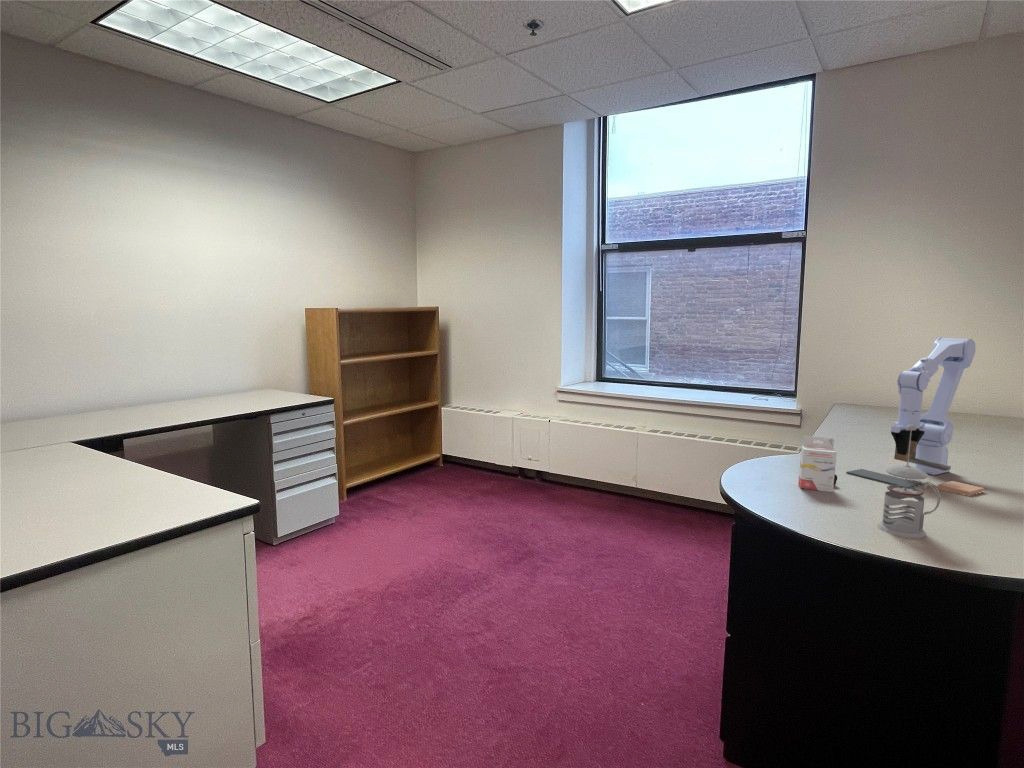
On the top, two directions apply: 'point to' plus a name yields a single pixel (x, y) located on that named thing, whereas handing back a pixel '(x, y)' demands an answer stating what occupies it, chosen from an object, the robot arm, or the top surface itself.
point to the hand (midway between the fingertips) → (905, 453)
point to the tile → (960, 488)
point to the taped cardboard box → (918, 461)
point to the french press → (905, 502)
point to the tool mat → (883, 478)
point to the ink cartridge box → (817, 464)
